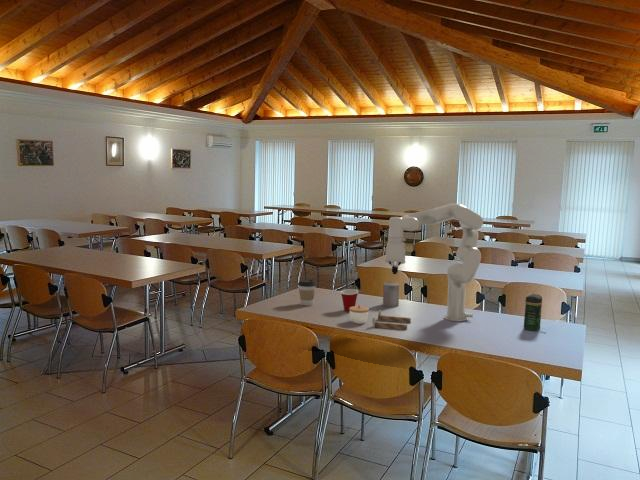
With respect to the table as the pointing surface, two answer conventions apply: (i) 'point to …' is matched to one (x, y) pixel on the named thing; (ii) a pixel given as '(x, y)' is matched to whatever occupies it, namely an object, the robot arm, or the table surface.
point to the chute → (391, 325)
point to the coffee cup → (307, 291)
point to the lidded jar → (359, 314)
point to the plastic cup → (349, 298)
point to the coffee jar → (533, 312)
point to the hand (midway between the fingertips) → (394, 273)
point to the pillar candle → (390, 294)
